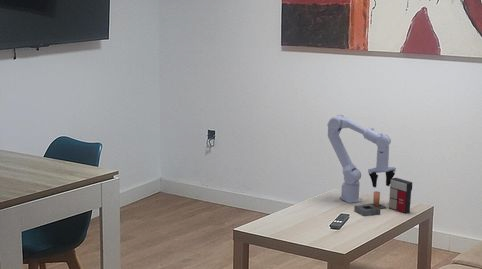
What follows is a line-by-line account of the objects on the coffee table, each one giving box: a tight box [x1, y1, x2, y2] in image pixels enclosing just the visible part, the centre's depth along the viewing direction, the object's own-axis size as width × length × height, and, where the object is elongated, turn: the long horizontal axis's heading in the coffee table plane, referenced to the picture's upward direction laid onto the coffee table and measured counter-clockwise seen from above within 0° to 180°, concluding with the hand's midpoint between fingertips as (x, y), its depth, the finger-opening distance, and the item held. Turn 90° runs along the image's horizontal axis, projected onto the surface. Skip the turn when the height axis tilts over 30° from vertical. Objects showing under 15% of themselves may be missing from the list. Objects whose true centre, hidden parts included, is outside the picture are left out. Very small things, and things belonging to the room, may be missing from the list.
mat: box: [365, 203, 388, 210], centre depth 381 cm, size 8×8×1 cm
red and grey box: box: [388, 177, 413, 214], centre depth 375 cm, size 11×4×15 cm, turn 37°
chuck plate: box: [354, 203, 382, 217], centre depth 372 cm, size 9×9×2 cm
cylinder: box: [372, 190, 381, 207], centre depth 381 cm, size 3×3×7 cm
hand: (381, 186), depth 384 cm, fingers open, 7 cm apart
